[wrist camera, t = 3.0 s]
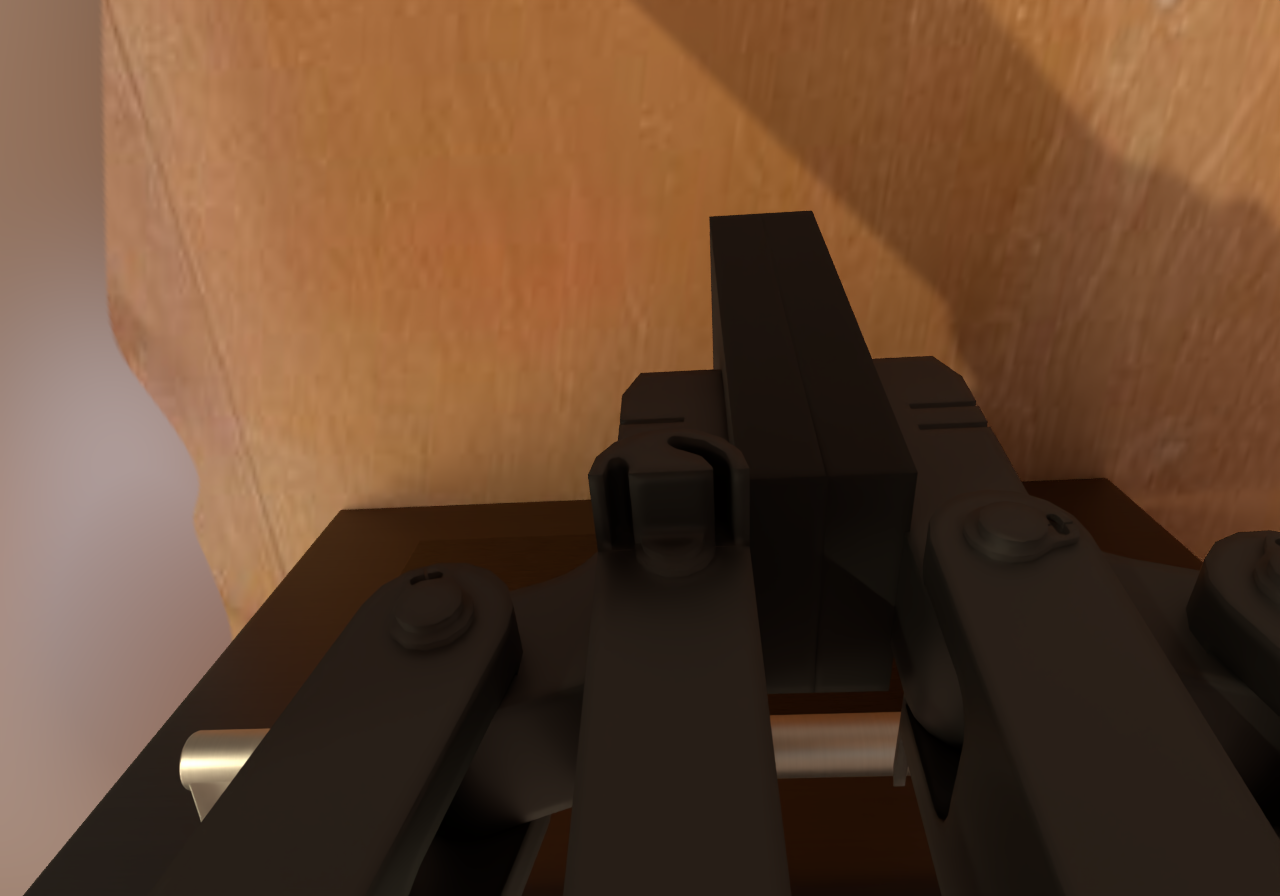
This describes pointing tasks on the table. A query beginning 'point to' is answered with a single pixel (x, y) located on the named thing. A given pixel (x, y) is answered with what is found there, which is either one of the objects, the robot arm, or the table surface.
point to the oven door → (807, 780)
